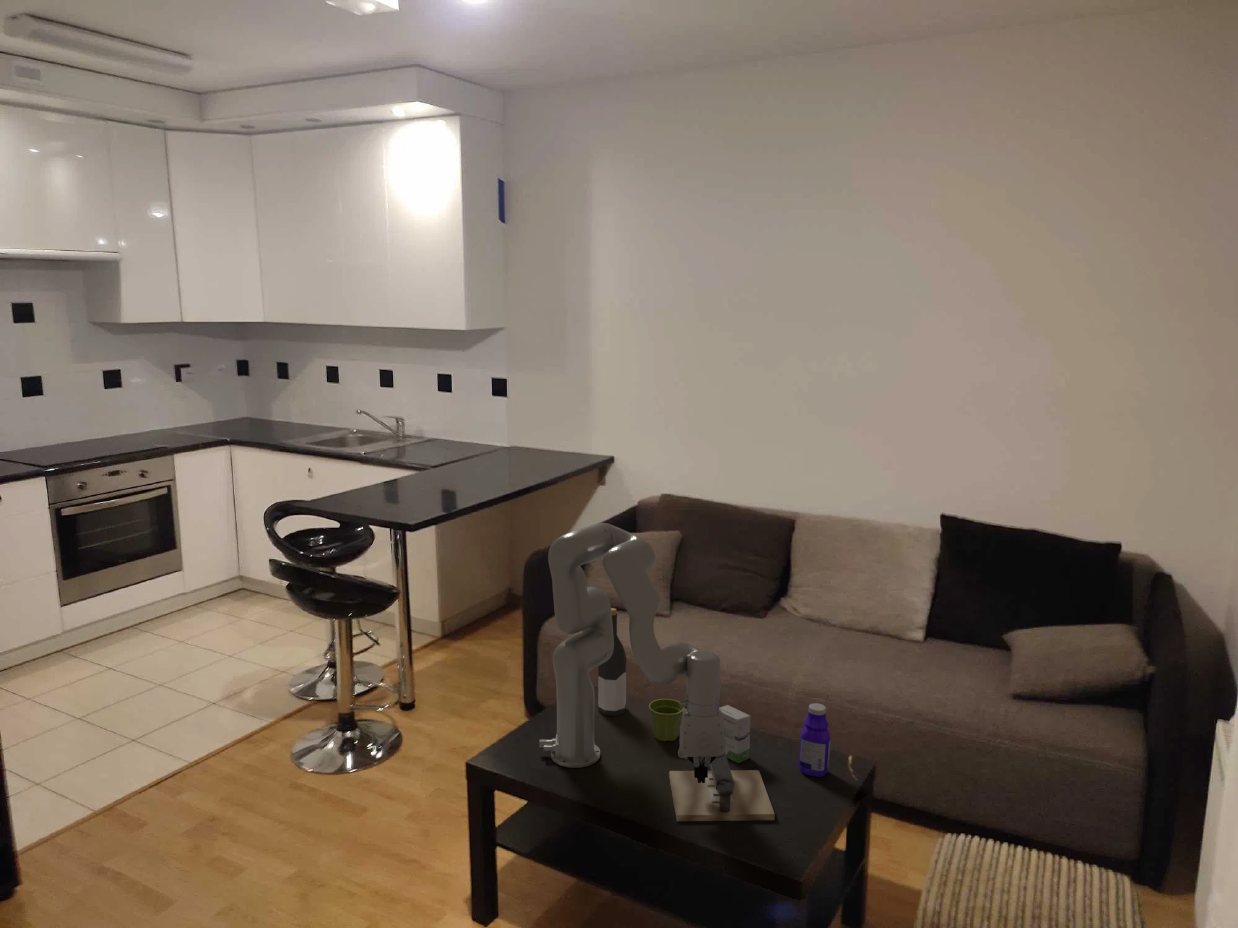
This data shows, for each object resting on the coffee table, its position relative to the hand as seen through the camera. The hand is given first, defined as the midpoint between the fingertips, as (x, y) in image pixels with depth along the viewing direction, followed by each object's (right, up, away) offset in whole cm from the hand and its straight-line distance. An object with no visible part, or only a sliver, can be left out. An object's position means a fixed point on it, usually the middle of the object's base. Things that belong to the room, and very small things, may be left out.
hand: (700, 779), depth 205 cm
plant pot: (-6, 0, +32) cm, 33 cm away
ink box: (+10, -2, +23) cm, 25 cm away
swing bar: (+5, +1, +3) cm, 5 cm away
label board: (+5, -5, +3) cm, 8 cm away
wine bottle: (-21, +3, +48) cm, 52 cm away
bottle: (+29, -4, +15) cm, 33 cm away
